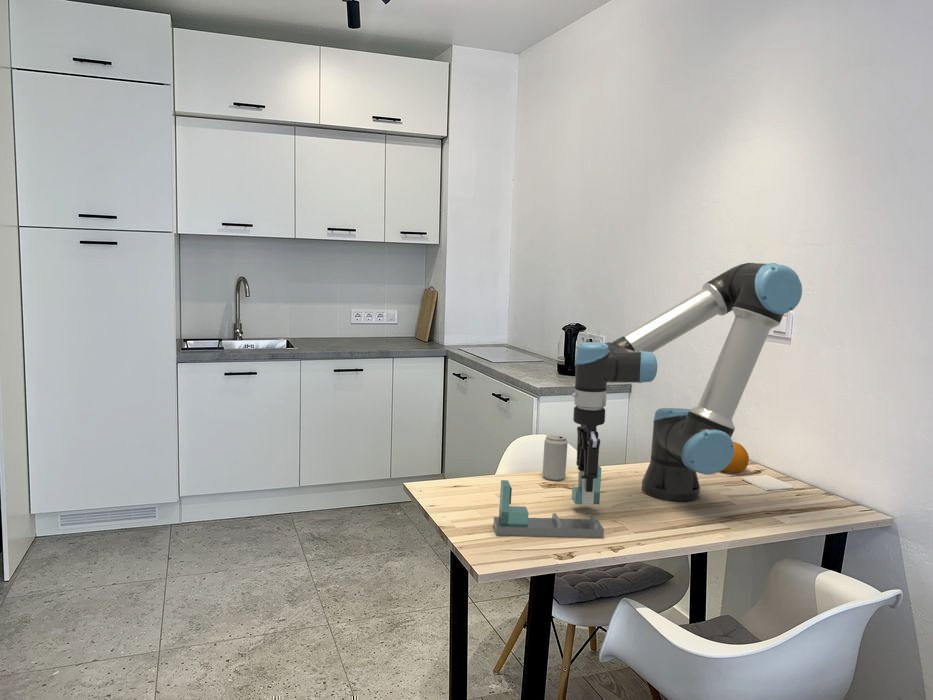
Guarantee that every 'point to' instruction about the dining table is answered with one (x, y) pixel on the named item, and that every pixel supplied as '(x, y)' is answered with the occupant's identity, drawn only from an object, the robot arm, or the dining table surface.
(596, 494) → the teal block
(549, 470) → the beverage can
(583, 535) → the rail
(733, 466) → the fruit
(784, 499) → the dining table surface
